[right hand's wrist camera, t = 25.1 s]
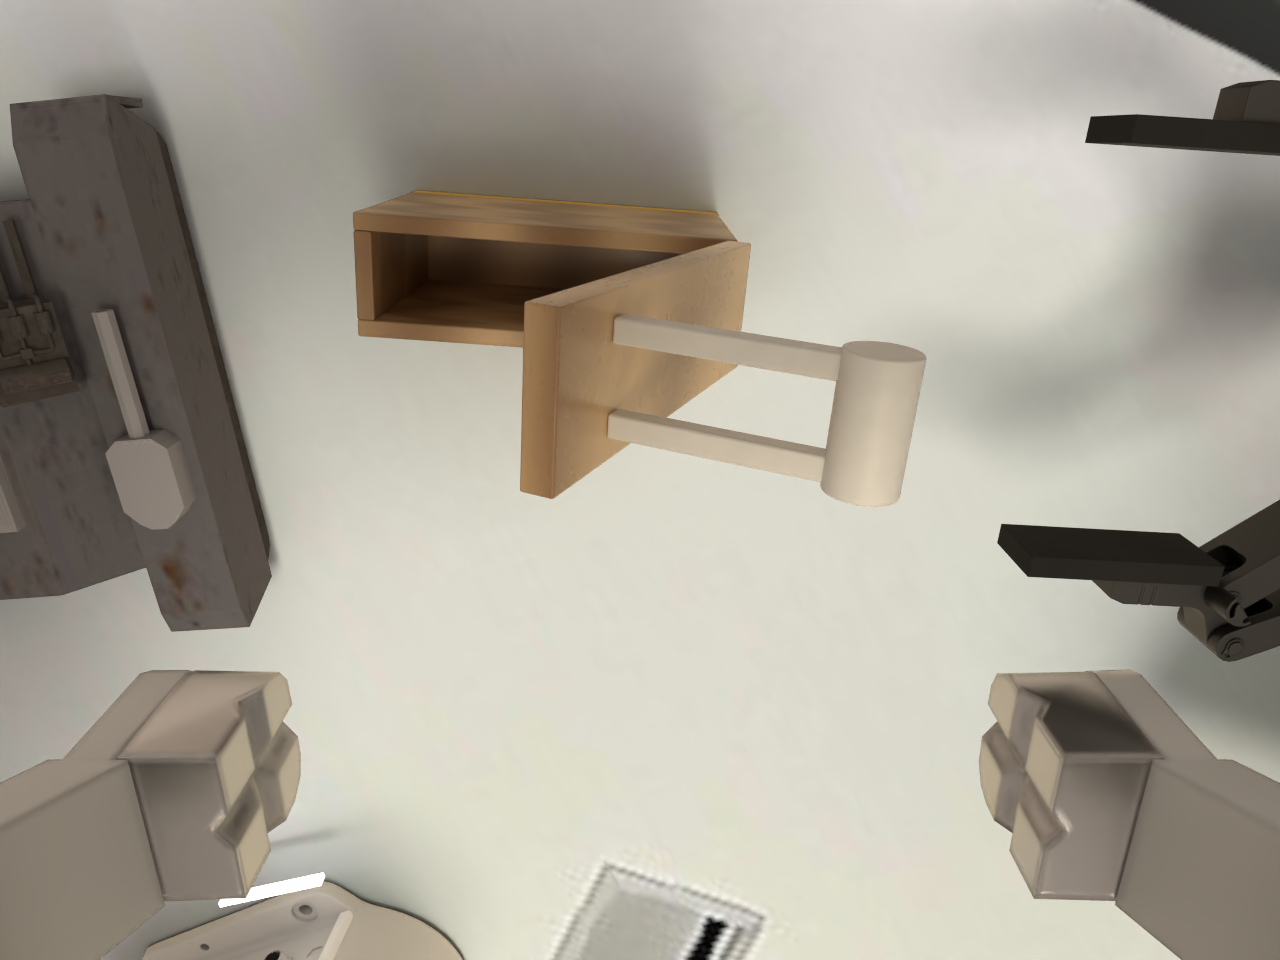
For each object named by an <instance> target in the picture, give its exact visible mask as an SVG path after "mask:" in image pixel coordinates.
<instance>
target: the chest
mask: <svg viewBox="0 0 1280 960" xmlns="http://www.w3.org/2000/svg"><path fill="white" fill-rule="evenodd" d="M353 223H354V229H355V231H354V249H355V271H356V293H357V314H358V319H359V320H358V333H359V336H367V337H381V338H395V339H410V340H424V341H439V342H453V343H468V344H482V345H497V346H511V347H523V346H524V304H525V302H526V301H530V300H533V299H536V298H539V297H543V296H546V295H549V294H553V293H556V292H559V291H563V290H566V289H569V288H573V287H576V286H579V285H583V284H586V283H589V282H593V281H596V280H599V279H603V278H606V277H609V276H613V275H616V274H619V273H623V272H626V271H629V270H633V269H636V268H639V267H643V266H646V265H649V264H653V263H656V262H659V261H663V260H666V259H669V258H673V257H676V256H679V255H683V254H686V253H689V252H693V251H696V250H699V249H702V248H706V247H709V246H712V245H716V244H719V243H722V242H726V241H735V242H737V239H736V238H735V237H734V236H733V234H732V233H731V232H730V230H729V229H728V228H727V226H726V225H725V224H724V222H723V221H722V220H721V219H720V217H719V214H718V213H717V212H706V211H692V210H679V209H665V208H651V207H638V206H624V205H610V204H597V203H583V202H569V201H556V200H542V199H529V198H515V197H501V196H488V195H474V194H460V193H447V192H433V191H419V190H416V191H413V192H411V193H410V194H407V195H404V196H401V197H398V198H395V199H392V200H389V201H386V202H383V203H380V204H377V205H374V206H371V207H368V208H365V209H362V210H359V211H356V212H354V213H353Z"/></svg>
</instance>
